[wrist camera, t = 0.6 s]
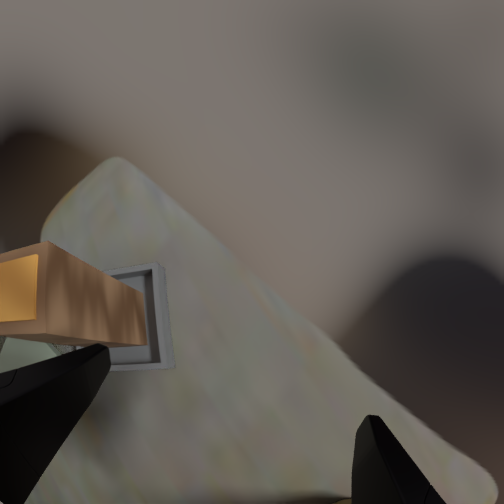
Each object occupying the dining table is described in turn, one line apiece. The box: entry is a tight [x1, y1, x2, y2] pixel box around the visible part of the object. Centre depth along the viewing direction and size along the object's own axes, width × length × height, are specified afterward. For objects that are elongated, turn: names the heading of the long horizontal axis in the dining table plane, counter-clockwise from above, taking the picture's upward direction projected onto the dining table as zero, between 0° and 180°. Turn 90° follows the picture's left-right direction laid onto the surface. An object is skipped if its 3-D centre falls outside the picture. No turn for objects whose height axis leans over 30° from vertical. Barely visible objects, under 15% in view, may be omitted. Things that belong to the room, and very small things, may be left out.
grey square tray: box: [76, 262, 175, 371], centre depth 23 cm, size 9×9×2 cm
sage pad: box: [0, 337, 62, 373], centre depth 22 cm, size 10×10×1 cm
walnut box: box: [0, 241, 148, 348], centre depth 17 cm, size 4×4×13 cm
